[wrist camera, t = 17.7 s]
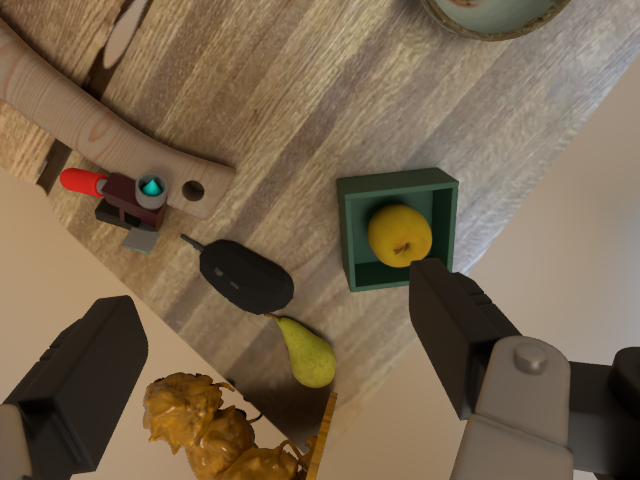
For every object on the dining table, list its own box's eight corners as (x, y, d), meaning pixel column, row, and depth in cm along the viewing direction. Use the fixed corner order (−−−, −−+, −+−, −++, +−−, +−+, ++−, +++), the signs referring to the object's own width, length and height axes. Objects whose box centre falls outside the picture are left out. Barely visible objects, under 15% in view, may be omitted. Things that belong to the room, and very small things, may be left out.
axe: (170, 263, 37) (-201, 12, 26) (179, 244, 42) (-131, 25, 31) (291, 126, 34) (-63, -218, 23) (286, 122, 39) (-10, -164, 28)
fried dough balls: (264, 669, 31) (9, 553, 34) (293, 554, 52) (135, 490, 56) (338, 394, 38) (124, 322, 42) (337, 392, 60) (195, 345, 64)
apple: (349, 222, 42) (362, 254, 35) (391, 182, 41) (415, 207, 34) (385, 255, 45) (404, 292, 37) (426, 219, 43) (455, 250, 36)
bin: (336, 178, 41) (344, 194, 36) (437, 167, 41) (458, 181, 36) (343, 267, 45) (350, 292, 40) (433, 256, 46) (451, 280, 41)
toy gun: (179, 176, 31) (153, 225, 29) (168, 227, 42) (148, 266, 39) (56, 120, 29) (17, 168, 27) (76, 189, 39) (49, 228, 37)
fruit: (354, 370, 47) (305, 290, 46) (321, 403, 44) (267, 319, 43) (330, 365, 52) (285, 292, 50) (299, 394, 49) (251, 318, 48)
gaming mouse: (195, 213, 41) (187, 227, 37) (303, 280, 46) (305, 298, 42) (166, 255, 43) (156, 272, 39) (273, 315, 47) (273, 335, 44)
